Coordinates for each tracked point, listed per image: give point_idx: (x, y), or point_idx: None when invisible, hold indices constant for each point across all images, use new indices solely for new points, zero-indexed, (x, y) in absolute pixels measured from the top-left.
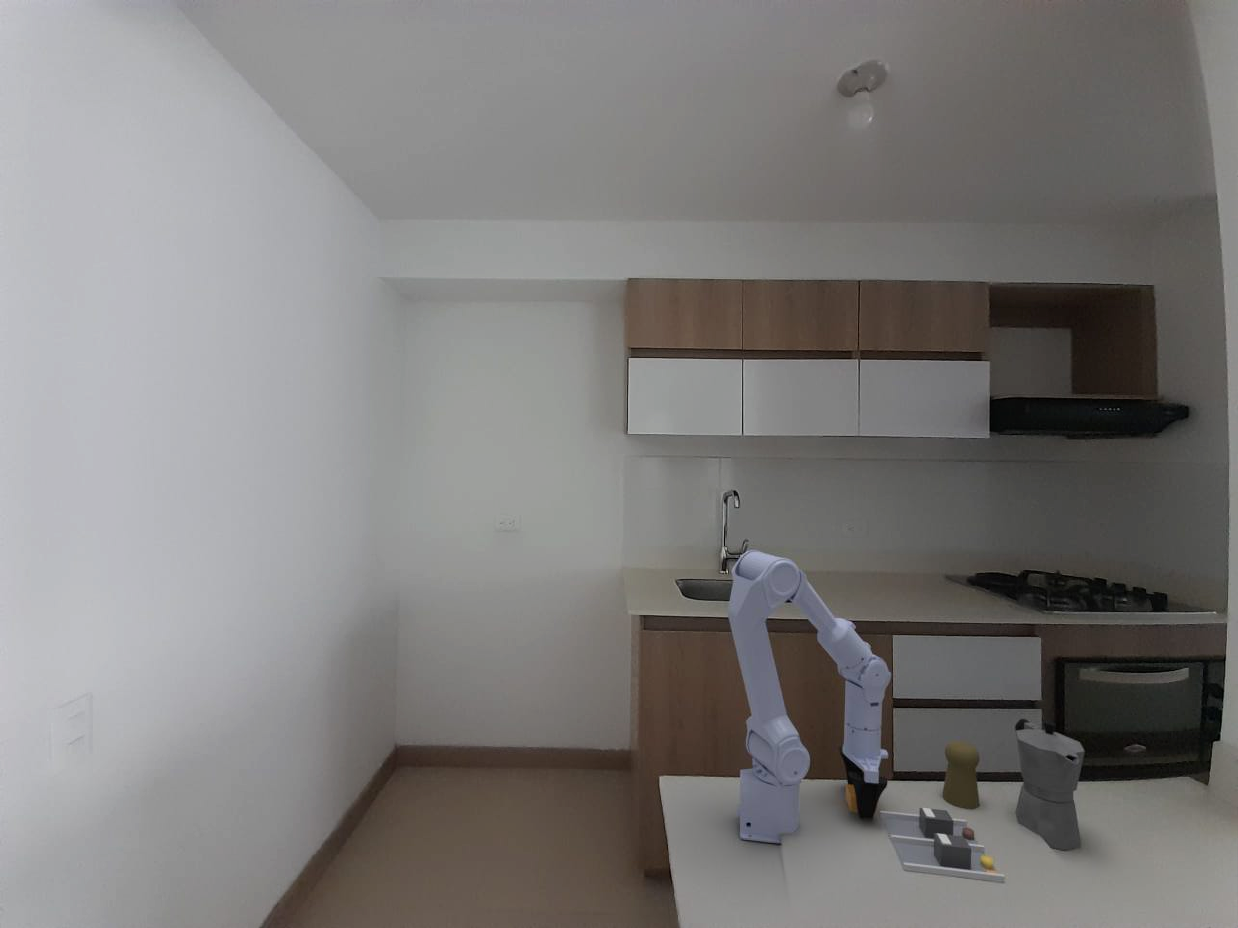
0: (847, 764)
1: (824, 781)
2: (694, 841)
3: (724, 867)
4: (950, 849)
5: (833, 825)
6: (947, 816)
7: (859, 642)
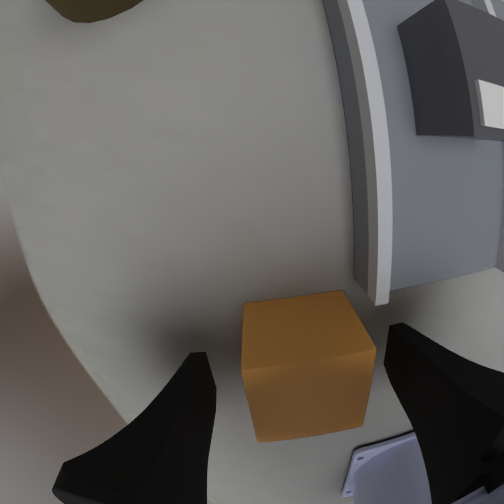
0: (203, 495)
1: (118, 404)
2: None
3: None
4: None
5: (375, 393)
6: (491, 26)
7: None
